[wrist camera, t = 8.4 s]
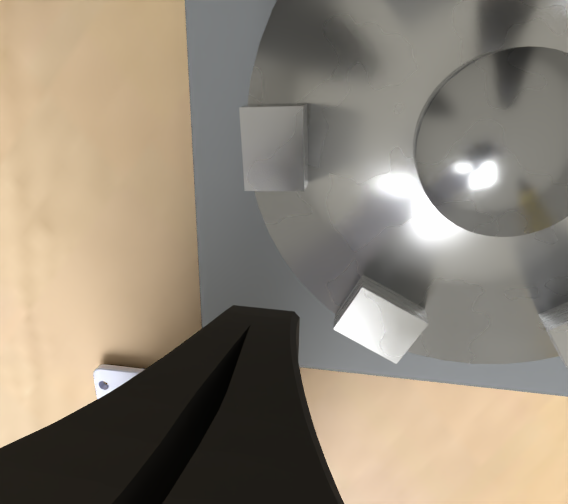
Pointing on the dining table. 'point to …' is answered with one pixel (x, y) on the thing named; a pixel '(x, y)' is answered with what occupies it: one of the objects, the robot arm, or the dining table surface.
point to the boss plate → (252, 229)
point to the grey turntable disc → (419, 170)
